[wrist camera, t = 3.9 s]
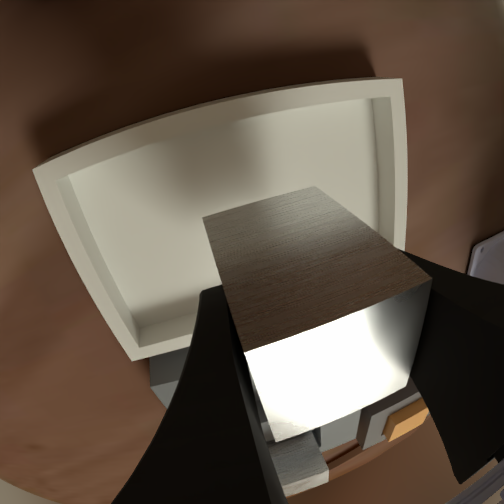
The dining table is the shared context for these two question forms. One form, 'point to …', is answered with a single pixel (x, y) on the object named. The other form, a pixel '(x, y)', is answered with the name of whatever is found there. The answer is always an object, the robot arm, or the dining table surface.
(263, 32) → the dining table surface
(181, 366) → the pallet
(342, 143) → the tray
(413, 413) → the button
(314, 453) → the block
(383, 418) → the button housing
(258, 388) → the steel block
